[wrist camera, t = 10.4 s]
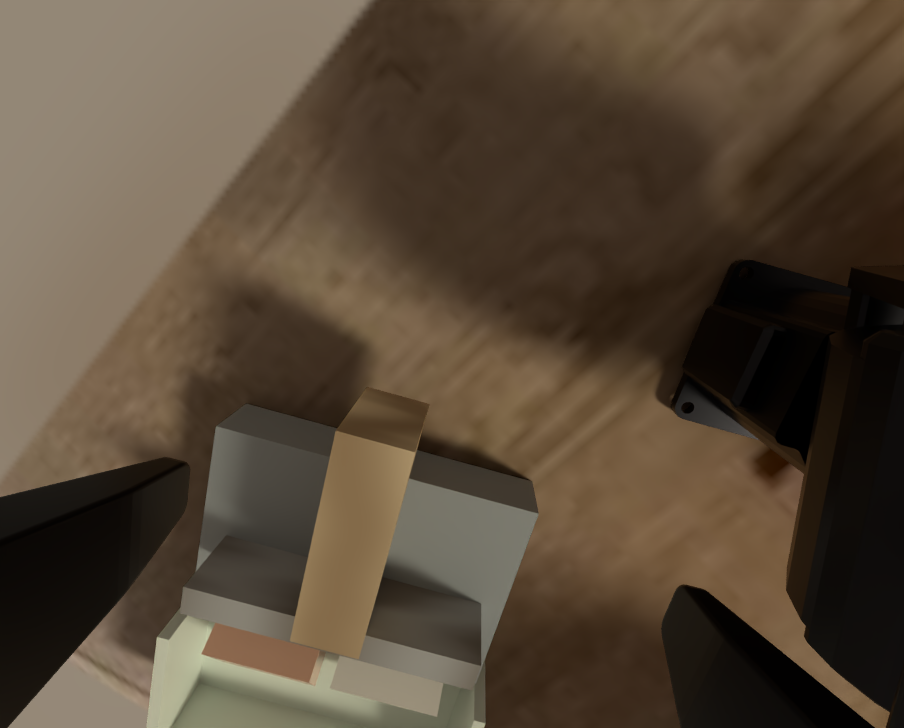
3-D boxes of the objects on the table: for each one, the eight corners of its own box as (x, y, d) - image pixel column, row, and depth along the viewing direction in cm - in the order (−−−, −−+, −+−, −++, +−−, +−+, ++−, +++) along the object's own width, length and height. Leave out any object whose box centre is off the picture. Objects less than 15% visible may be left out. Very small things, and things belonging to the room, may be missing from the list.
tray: (485, 643, 24) (485, 723, 20) (447, 747, 26) (441, 838, 22) (209, 570, 24) (157, 636, 20) (193, 681, 26) (142, 760, 22)
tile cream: (444, 673, 21) (437, 716, 20) (430, 677, 24) (423, 713, 23) (342, 646, 20) (329, 688, 20) (343, 654, 24) (333, 689, 23)
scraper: (540, 434, 18) (556, 490, 14) (473, 625, 21) (471, 717, 17) (254, 355, 18) (191, 391, 14) (222, 558, 20) (162, 635, 17)
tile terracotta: (322, 641, 20) (309, 682, 20) (326, 651, 24) (315, 686, 23) (219, 613, 20) (201, 654, 20) (238, 627, 24) (224, 662, 23)
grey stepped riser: (532, 481, 21) (538, 513, 19) (476, 638, 24) (475, 684, 21) (246, 403, 21) (216, 426, 19) (220, 569, 24) (190, 608, 21)
